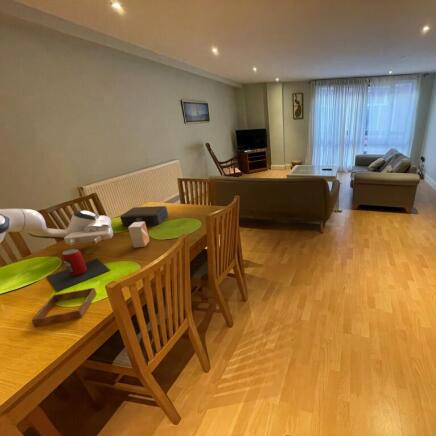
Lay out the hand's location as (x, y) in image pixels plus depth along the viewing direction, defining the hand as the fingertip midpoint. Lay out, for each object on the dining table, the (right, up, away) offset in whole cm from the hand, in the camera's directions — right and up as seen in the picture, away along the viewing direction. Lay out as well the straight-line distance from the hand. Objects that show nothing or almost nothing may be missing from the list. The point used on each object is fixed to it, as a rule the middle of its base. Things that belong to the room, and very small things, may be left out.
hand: (83, 243), depth 122 cm
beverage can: (+3, -14, -6) cm, 16 cm away
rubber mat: (+3, -14, -6) cm, 16 cm away
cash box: (-1, +11, +56) cm, 57 cm away
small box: (+16, -3, +22) cm, 28 cm away
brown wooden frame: (+18, -23, -27) cm, 40 cm away
